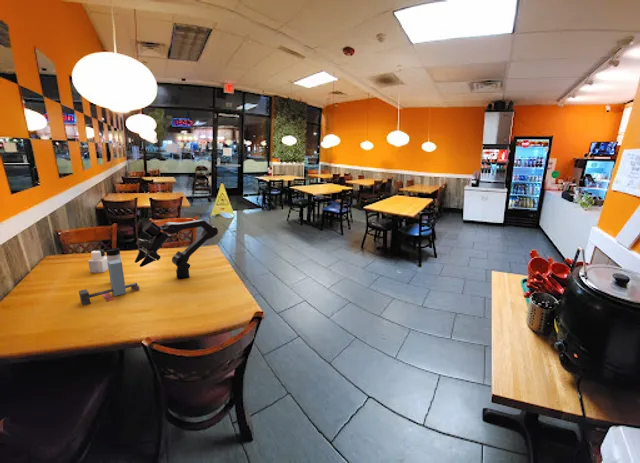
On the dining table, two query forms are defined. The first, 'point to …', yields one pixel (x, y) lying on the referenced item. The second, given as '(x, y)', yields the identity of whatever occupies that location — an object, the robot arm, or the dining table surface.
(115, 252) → the travel mug
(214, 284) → the dining table surface
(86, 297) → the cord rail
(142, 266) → the robot arm
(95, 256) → the container
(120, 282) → the sleeve
